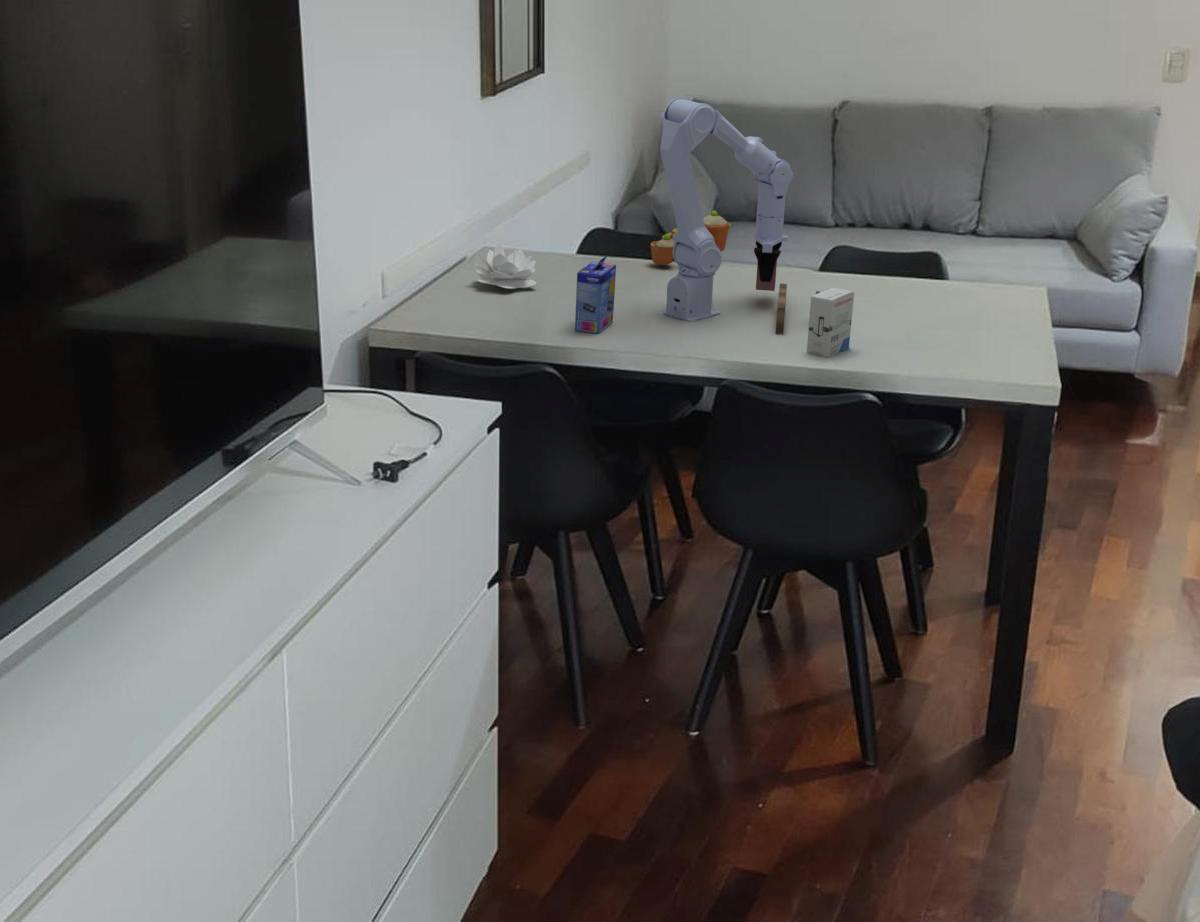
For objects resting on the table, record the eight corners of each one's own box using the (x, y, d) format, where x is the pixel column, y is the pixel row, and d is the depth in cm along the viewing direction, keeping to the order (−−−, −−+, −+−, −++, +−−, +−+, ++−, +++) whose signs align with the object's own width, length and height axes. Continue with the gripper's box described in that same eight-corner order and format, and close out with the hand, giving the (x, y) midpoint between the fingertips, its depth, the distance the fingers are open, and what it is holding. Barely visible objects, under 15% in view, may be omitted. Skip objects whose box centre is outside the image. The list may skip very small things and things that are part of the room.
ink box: (828, 344, 284) (833, 285, 280) (850, 349, 282) (855, 290, 277) (805, 354, 278) (809, 294, 274) (827, 359, 275) (832, 299, 271)
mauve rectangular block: (774, 291, 308) (776, 258, 306) (755, 289, 309) (757, 257, 306) (775, 284, 313) (777, 253, 310) (756, 283, 313) (758, 251, 311)
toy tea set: (673, 239, 362) (674, 201, 358) (733, 246, 357) (735, 207, 353) (640, 264, 339) (641, 223, 335) (704, 271, 334) (706, 230, 331)
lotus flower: (513, 296, 312) (513, 256, 308) (458, 284, 319) (458, 245, 316) (552, 282, 323) (552, 243, 319) (498, 271, 330) (498, 233, 327)
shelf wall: (783, 334, 290) (785, 307, 288) (775, 333, 290) (777, 307, 288) (785, 309, 306) (787, 283, 304) (778, 308, 306) (779, 283, 304)
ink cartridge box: (600, 335, 287) (601, 263, 281) (573, 331, 288) (574, 260, 283) (615, 321, 296) (617, 251, 290) (589, 318, 297) (591, 249, 292)
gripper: (788, 223, 298) (784, 287, 303) (790, 208, 311) (785, 270, 316) (754, 221, 299) (750, 285, 304) (757, 206, 312) (753, 268, 317)
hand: (765, 277), depth 310 cm, fingers closed on mauve rectangular block, 5 cm apart
